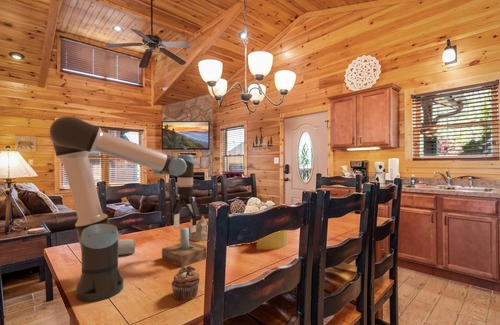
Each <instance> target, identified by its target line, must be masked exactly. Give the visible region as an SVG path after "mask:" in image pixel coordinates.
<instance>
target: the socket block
mask: <svg viewBox="0 0 500 325" xmlns="http://www.w3.org/2000/svg"><path fill="white" fill-rule="evenodd" d="M206 247H207V246H205V245H203V244H199V243H196V242H195V241H192V240H189V250H185V251H183V250H181V242H180V243H177V244H173V245H170V246H166V247H163V248H161V259H162V260H163V261H166V262H169V263H171V264H173V265H175V266H178V267H180V268H182V267H184V268H185V267H186V266H190V265H192V264H194V263H198V262H200V261H203V260H205V258H206ZM206 259H207V258H206Z"/></svg>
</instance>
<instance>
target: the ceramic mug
mask: <svg viewBox="0 0 500 325" xmlns="http://www.w3.org/2000/svg"><path fill="white" fill-rule="evenodd" d="M135 252H136V240H135V239H132V238H130V239H129V238H128V239H127V238H126V239H125V238H124V239H118V256H125V255H131V254H134V253H135Z"/></svg>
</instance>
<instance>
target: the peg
mask: <svg viewBox="0 0 500 325" xmlns="http://www.w3.org/2000/svg"><path fill="white" fill-rule="evenodd" d="M179 231H180V243H181V250H183V251H185V250H189V241H190V240H189V227H181V228H180V230H179Z"/></svg>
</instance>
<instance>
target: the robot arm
mask: <svg viewBox="0 0 500 325" xmlns="http://www.w3.org/2000/svg"><path fill="white" fill-rule="evenodd" d="M49 135H50V139H51V142H52V145H53V149H54V153H55V156H56V158H58V159H59V160H61V161H62V164H63V167H64V171H65V175H66V179H67V182H68V186H69V190H70V193H71V197H72V201H73V205H74V208H75V213H76V215H77V220H76V222H75V223H74V226H75V230H76V233H77V237H78V243H79V245H80V249H81V250H80V251H81V253H80V254H81V274H80V277H79V280H78V283H77V285H76V288H75V298H76V299H77V300H78V301H80V302H95V301H97V302H99V301H101V300H106V299H108V298H111V297H113V296H115V295H117V294H118V293H120V292H121V291H122V290H123V289H124V279H123V276H122V273H121V271H120V269H119V255H118V240H119V231H118V227H117V226H116V225H113V224H111V223H110V220H109V215H108V214H106V213H104V212H103V209H102V206H101V201H100V198H99V194H98V189H97V186H96V183H95V182H96V181H95V178H94V175H93V170H92V167H91V163H90V162H91V161H90V158H89V154H91V153H92V152H98V153H100V154H105V155H108V156H110V157H114V158H117V159H119V160H124V161H127V162H131V163H132V164H135V165H140V166H142V167H146V168H150V169H151V172H152V173H153V174H154V175H168V176H169V175H170V176H174V177H175V176H176V177H177V191H176V192H177V194H175V196H174V200H173V204H172V207H171V210H170V213H172V215H173V228H180V217H181V216H180V211H181V210H182V207H183V206H185V207H186V208H187V210H188V212H189V215H190V218H189V219H190V225H189V227H190V232H191V233H192V232H196V224H198V222H197V221H198V218H201V217H200V216H201V215H200V211H199V207H198V205H197V197H196V196H192V195H193V194H194V168H195V167H194V164H195V161H194V155H192V154H178V155H177V156H176V157H175V156H172V155H170V154H166V153H164V152H161V151H158V150H156V149H153V148H150V147H147V146H144V145H141V144H139V143H136V142H133V141H130V140H127V139H124V138H122V137H119V136H116V135H114V134H111V133H108V132H106V131H102V128H101V127H100V126H97V125H95V124H92V123H89V122H87V121H85V120H83V119H81V118H78V117H74V116H69V115H67V116H61V117H58V118H56V119H55V120H54V121H53V122H52V123H51V125H50V127H49Z"/></svg>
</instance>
